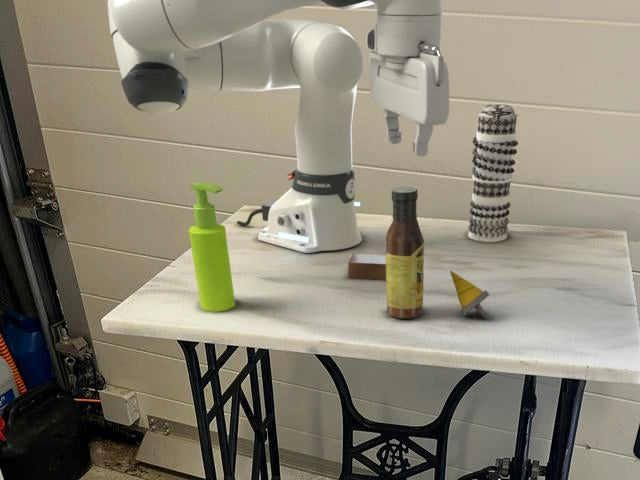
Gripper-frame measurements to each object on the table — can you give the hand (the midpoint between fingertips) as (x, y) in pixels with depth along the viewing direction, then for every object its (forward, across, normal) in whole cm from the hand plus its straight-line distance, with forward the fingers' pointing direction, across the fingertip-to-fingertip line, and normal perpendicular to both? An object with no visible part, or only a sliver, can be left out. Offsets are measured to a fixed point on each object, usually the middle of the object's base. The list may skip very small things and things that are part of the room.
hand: (406, 149), depth 109 cm
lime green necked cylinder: (+26, +15, +28) cm, 41 cm away
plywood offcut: (+26, +20, -2) cm, 32 cm away
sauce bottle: (+26, 0, 0) cm, 26 cm away
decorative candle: (+26, +32, -34) cm, 54 cm away
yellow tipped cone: (+26, -5, -10) cm, 28 cm away
